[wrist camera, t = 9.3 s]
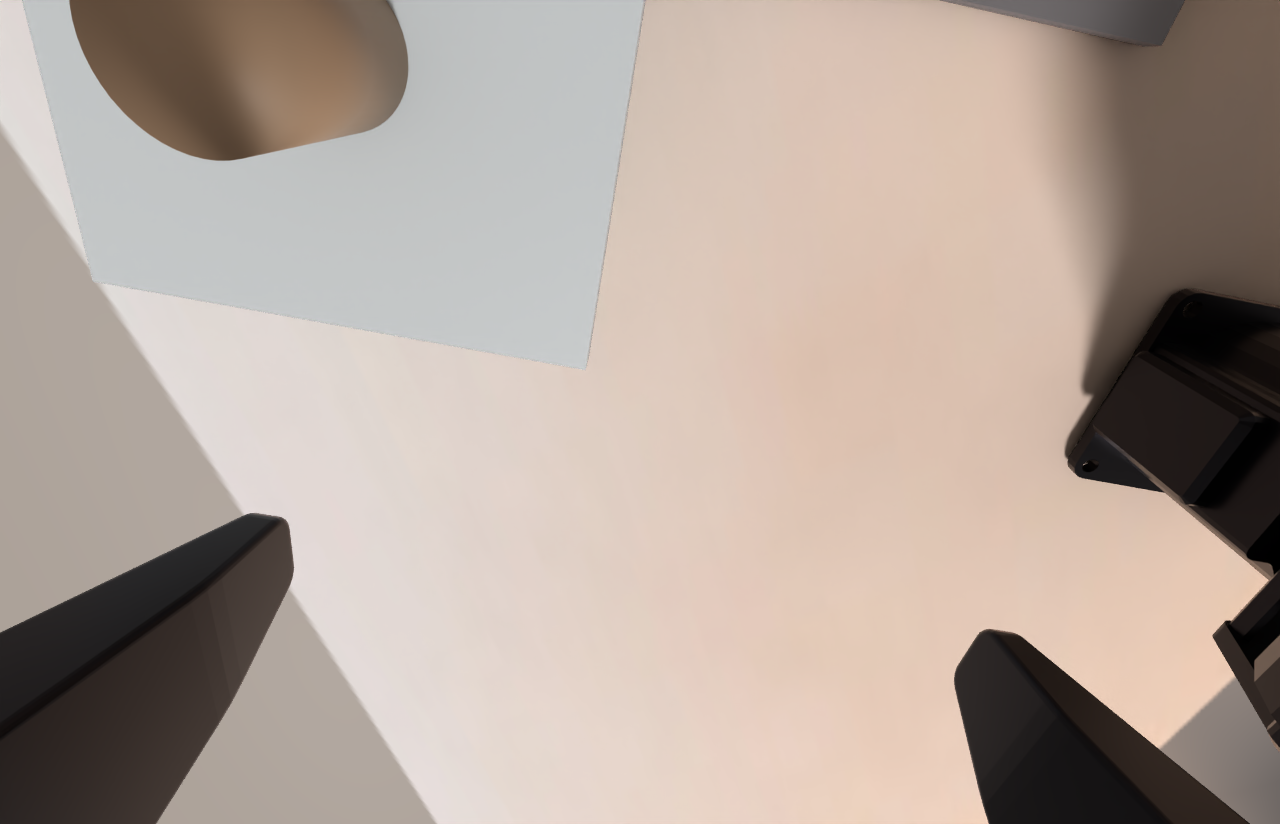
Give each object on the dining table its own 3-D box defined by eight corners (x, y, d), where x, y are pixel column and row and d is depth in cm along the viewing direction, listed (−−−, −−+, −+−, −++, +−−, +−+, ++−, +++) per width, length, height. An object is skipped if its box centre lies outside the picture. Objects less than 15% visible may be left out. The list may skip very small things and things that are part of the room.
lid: (688, -271, 10) (709, -524, 6) (589, 356, 15) (561, 467, 11) (-46, -454, 9) (-649, -900, 5) (120, 271, 14) (-103, 355, 10)
